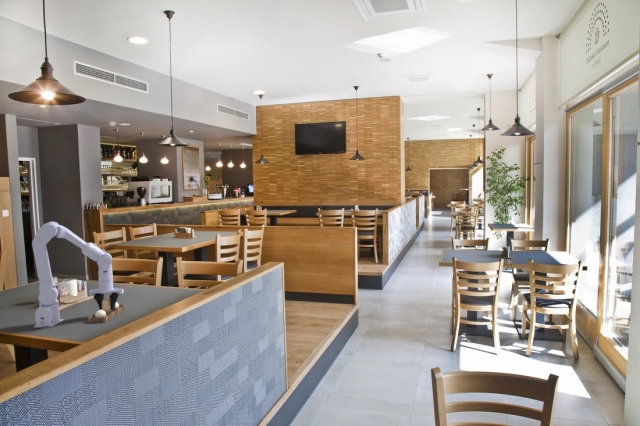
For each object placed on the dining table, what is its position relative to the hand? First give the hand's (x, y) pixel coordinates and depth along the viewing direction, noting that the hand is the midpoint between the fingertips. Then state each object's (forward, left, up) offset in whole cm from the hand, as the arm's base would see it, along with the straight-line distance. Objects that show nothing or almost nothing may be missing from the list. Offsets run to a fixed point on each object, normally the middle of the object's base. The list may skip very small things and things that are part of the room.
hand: (107, 309), depth 200 cm
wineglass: (+32, +43, -3) cm, 54 cm away
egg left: (-7, 0, -3) cm, 7 cm away
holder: (0, 0, -3) cm, 3 cm away
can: (+28, +31, -3) cm, 42 cm away
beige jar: (0, 0, -2) cm, 2 cm away
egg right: (+7, 0, -3) cm, 7 cm away
